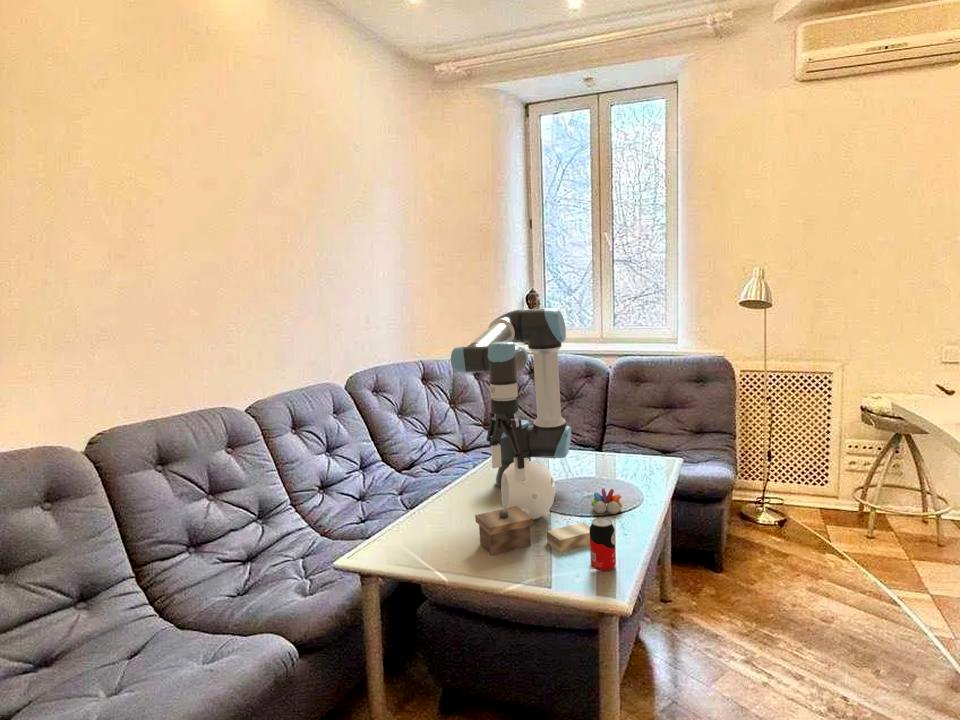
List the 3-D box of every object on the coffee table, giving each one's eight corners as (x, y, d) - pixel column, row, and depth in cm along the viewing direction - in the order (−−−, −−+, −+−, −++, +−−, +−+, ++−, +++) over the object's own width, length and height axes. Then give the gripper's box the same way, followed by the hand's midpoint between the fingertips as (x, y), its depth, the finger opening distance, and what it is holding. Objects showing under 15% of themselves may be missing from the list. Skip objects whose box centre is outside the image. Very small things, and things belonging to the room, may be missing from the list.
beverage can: (600, 574, 148) (598, 528, 147) (586, 564, 154) (584, 520, 152) (620, 568, 151) (619, 523, 149) (606, 558, 156) (604, 515, 155)
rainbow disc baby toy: (622, 515, 185) (622, 493, 184) (591, 515, 187) (590, 493, 186) (621, 505, 193) (621, 484, 192) (591, 505, 195) (590, 484, 194)
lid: (490, 535, 159) (490, 523, 158) (475, 521, 168) (475, 511, 168) (533, 525, 164) (532, 513, 163) (516, 512, 173) (515, 502, 173)
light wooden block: (560, 554, 161) (559, 540, 160) (547, 544, 167) (546, 531, 166) (597, 544, 165) (596, 530, 165) (583, 535, 172) (582, 522, 171)
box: (491, 557, 161) (490, 533, 160) (480, 546, 168) (479, 522, 167) (530, 547, 165) (529, 523, 165) (518, 537, 173) (516, 514, 172)
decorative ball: (565, 528, 177) (562, 465, 175) (509, 535, 174) (505, 471, 172) (547, 505, 197) (544, 448, 194) (496, 511, 194) (493, 453, 192)
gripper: (472, 394, 172) (476, 464, 174) (514, 406, 149) (518, 488, 152) (495, 390, 175) (499, 460, 177) (539, 403, 153) (543, 482, 155)
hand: (508, 473), depth 165 cm, fingers open, 13 cm apart
